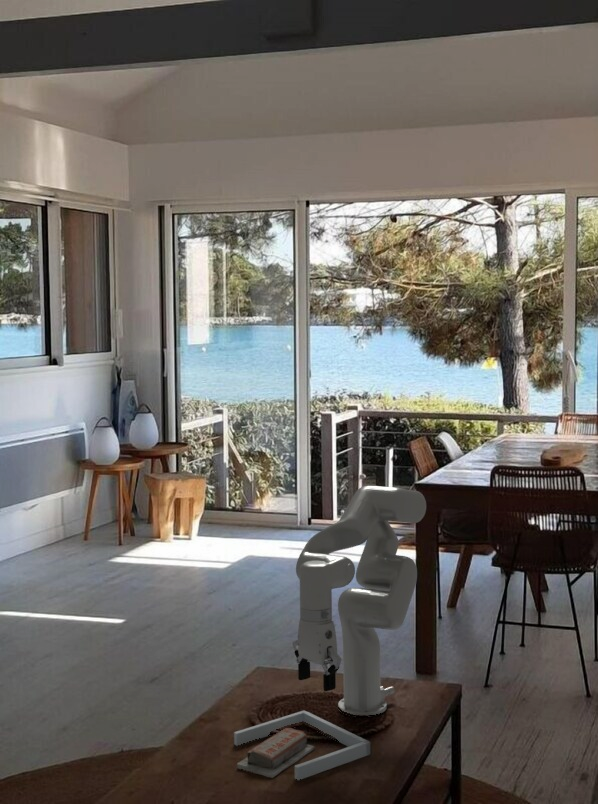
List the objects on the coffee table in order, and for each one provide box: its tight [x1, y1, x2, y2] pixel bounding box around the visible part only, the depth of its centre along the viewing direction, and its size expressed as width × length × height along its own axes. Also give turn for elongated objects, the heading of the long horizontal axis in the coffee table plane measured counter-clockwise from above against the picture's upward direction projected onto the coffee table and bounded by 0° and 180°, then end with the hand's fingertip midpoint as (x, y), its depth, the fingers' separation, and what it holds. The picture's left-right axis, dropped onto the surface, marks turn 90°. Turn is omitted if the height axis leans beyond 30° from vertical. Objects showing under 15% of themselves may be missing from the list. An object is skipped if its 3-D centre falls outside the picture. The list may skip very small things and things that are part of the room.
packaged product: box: [236, 728, 316, 779], centre depth 261 cm, size 18×5×10 cm
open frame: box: [233, 710, 371, 781], centre depth 266 cm, size 21×25×3 cm
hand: (316, 684), depth 267 cm, fingers open, 9 cm apart
